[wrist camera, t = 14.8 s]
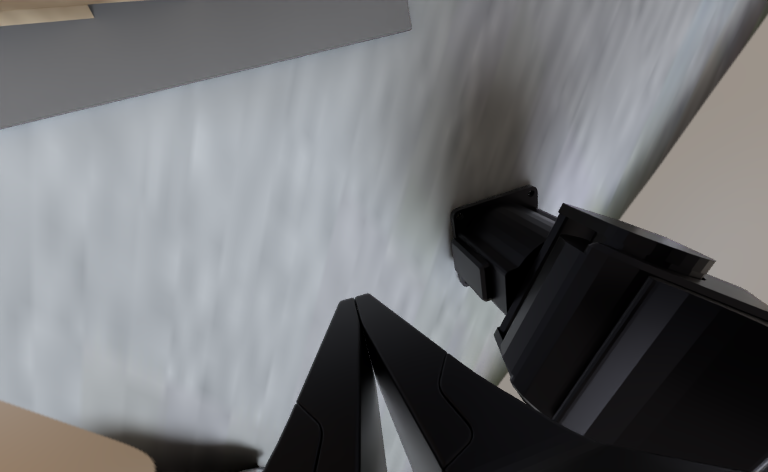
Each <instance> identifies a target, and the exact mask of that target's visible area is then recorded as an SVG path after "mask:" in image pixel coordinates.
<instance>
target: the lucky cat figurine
mask: <svg viewBox="0 0 768 472" xmlns="http://www.w3.org/2000/svg"><path fill="white" fill-rule="evenodd" d="M264 468H265V467H259V465H257V467H254V468H252V469H249V470H243V471H240V472H262V471H263V470H264Z"/></svg>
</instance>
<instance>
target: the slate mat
mask: <svg viewBox="0 0 768 472" xmlns="http://www.w3.org/2000/svg"><path fill="white" fill-rule="evenodd" d="M87 5H88V7H89V9H90V11H91V12H92V14H93V16H94V18H90V19H78V20H67V21H55V22H44V23H32V24H21V25H9V26H0V129H4V128H8V127H12V126H16V125H20V124H25V123H29V122H33V121H37V120H41V119H45V118H49V117H54V116H58V115H62V114H66V113H70V112H74V111H78V110H83V109H87V108H91V107H95V106H99V105H103V104H107V103H111V102H116V101H120V100H124V99H128V98H132V97H136V96H140V95H145V94H149V93H153V92H157V91H161V90H165V89H169V88H173V87H178V86H182V85H186V84H190V83H194V82H198V81H202V80H207V79H211V78H215V77H219V76H223V75H227V74H231V73H236V72H240V71H244V70H248V69H252V68H256V67H260V66H264V65H269V64H273V63H277V62H281V61H285V60H289V59H293V58H298V57H302V56H306V55H310V54H314V53H318V52H322V51H326V50H331V49H335V48H339V47H343V46H347V45H351V44H355V43H360V42H364V41H368V40H372V39H376V38H380V37H384V36H389V35H393V34H397V33H401V32H405V31H409V30H411V29H412V26H411V20H410V14H409V7H408V1H407V0H143V1H129V2H115V3H101V4H87Z"/></svg>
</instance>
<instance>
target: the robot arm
mask: <svg viewBox="0 0 768 472" xmlns="http://www.w3.org/2000/svg"><path fill="white" fill-rule="evenodd" d="M529 191H531V192H530V194H529V195H528V193H529ZM558 212H559V213H560V214H559V216H558V217H556V216H553V215H551V214H549V213H547V212H545V211H542V210H540V209H538V191H537V188H536V187H533V186H530V185H528V186H525V187H522V188H518V189H515V190H512V191H509V192H506V193H503V194H500V195H497V196H494V197H490V198H487V199H484V200H481V201H478V202H475V203H472V204H469V205H466V206H463V207H459V208H456V209H455V210H453V211H452V213H451V222H452V229H453V236H454V239H453V240H452V242H451V245H452V251H453V258H454V265H455V270H456V271H457V272H458V274H459V279H460V282H461V283H462V285H463V286H466V287H467V286H470V287H471V288H472V289H473V290H474V291H475V292H476V293H477V295H478V296H479V297H480V298H481V299H482V300H484V301H486V302H487V301H490V300H492V301H493V302H494V304H495V305H496V306H497V307H498V308H499V309H500V310H501V311H502V312H503V313H504V314H505V315H506V316H505V318H504V320H503V322H502V324H501V325H500V327H497V329H496V331H495V333H494V337H495V339H496V342H497V344H498V347H499V349H500V352H501V354H502V358H503V360H504V362H505V364H506V367H507V369H508V372H509V374H510V377H511V378H510V381H511V383H512V385H513V387H514V388H515V390H516V391H517V392H518V394H519V395H520V397H521V398H522V399H523V401H524V402H525V403H526V404H525V403H524V402H522V401H520V400H519V399H517V398H515V397H514V396H512V395H510V394H508V393H507V392H505V391H503V390H502V389H500V388H498V387H497V386H495V385H494V384H492V383H490V382H489V381H487V380H486V379H484V378H482V377H481V376H479V375H478V374H476V373H475V372H473V371H472V370H471V369H469V368H468V367H466V366H465V365H464V364H462V363H461V362H459V361H458V360H457V359H455V358H454V357H453V356H452V355H450V354H447V352H446V351H445V350H443V349H442V348H441V347H439V346H438V345H437V344H435V343H434V342H433V341H431V340H430V339H429V338H427V337H426V336H425V335H424V334H422V333H421V332H420V331H418V330H417V329H416V328H414V327H413V326H412V325H410V324H409V323H408V322H406V321H405V320H404V319H402V318H401V317H400V316H398V315H397V314H396V313H394V312H393V311H392V310H390V309H389V308H388V307H386V306H385V305H384V304H382V303H381V302H380V301H378V300H377V299H376V298H374V297H373V296H372V295H371V294H368V293H367V294H363V295H360V296H357V297H356V298H355V299H354V298H349V299H346V300H343V301H340V302H339V304H338V307H337V309H336V311H335V313H334V316H333V318H332V320H331V323H330V325H329V327H328V330H327V332H326V334H325V337H324V339H323V341H322V343H321V346H320V348H319V350H318V353H317V355H316V357H315V360H314V362H313V364H312V367H311V369H310V371H309V374H308V376H307V378H306V380H305V383H304V385H303V387H302V390H301V392H300V394H299V397H298V399H297V401H296V402H297V404H295V405H294V408H293V410H292V412H291V415H290V417H289V419H288V422H287V424H286V426H285V428H284V430H283V432H282V434H281V437H280V439H279V441H278V443H277V445H276V447H275V449H274V451H273V453H272V455H271V456H270V458H269V460H268V462H267V464H266V466H265V468H264V470H263V472H387V466H386V459H385V451H384V443H383V436H382V428H381V420H380V412H379V405H378V397H377V389H376V382H375V377H376V379H377V382H378V385H379V387H380V390H381V392H382V395H383V397H384V400H385V402H386V405H387V407H388V410H389V412H390V415H391V417H392V420H393V422H394V425H395V427H396V430H397V432H398V435H399V437H400V440H401V442H402V445H403V447H404V450H405V452H406V455H407V457H408V460H409V462H410V465H411V467H412V470H413V472H768V305H766V304H765V303H763V302H762V301H761V300H759V299H758V298H756V297H755V296H754V295H752V294H751V293H749V292H748V291H747V290H744V289H743V288H741V287H738V286H736V285H733V284H731V283H728V282H726V281H723V280H720V279H718V278H716V277H713V276H711V275H708V274H707V272H708V271H709V270H710V268H711V267H712V266H713V264H714V263H715V262H716V261H715V260H713V259H712V258H709V257H707V256H705V255H703V254H701V253H699V252H697V251H695V250H692V249H690V248H688V247H686V246H684V245H681V244H680V243H677V242H675V241H673V240H670V239H669V238H667V237H664V236H661V235H658V234H656V233H653V232H650V231H647V230H644V229H642V228H639V227H636V226H634V225H631V224H628V223H625V222H623V221H620V220H616V219H613V218H610V217H607V216H604V215H600V214H597V213H594V212H591V211H588V210H584V209H581V208H578V207H575V206H571V205H568V204H565V203H563V204H562V206H561V207H560V209H559V211H558ZM460 213H461V216H460V217H459V218H457V215H458V214H460ZM356 305H357V306H356ZM357 309H358V310H357ZM363 332H364V333H363ZM368 351H369V352H368ZM369 355H370V356H369ZM370 359H371V360H370ZM372 366H373V367H372ZM373 370H374V372H373ZM374 373H375V376H374Z"/></svg>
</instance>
